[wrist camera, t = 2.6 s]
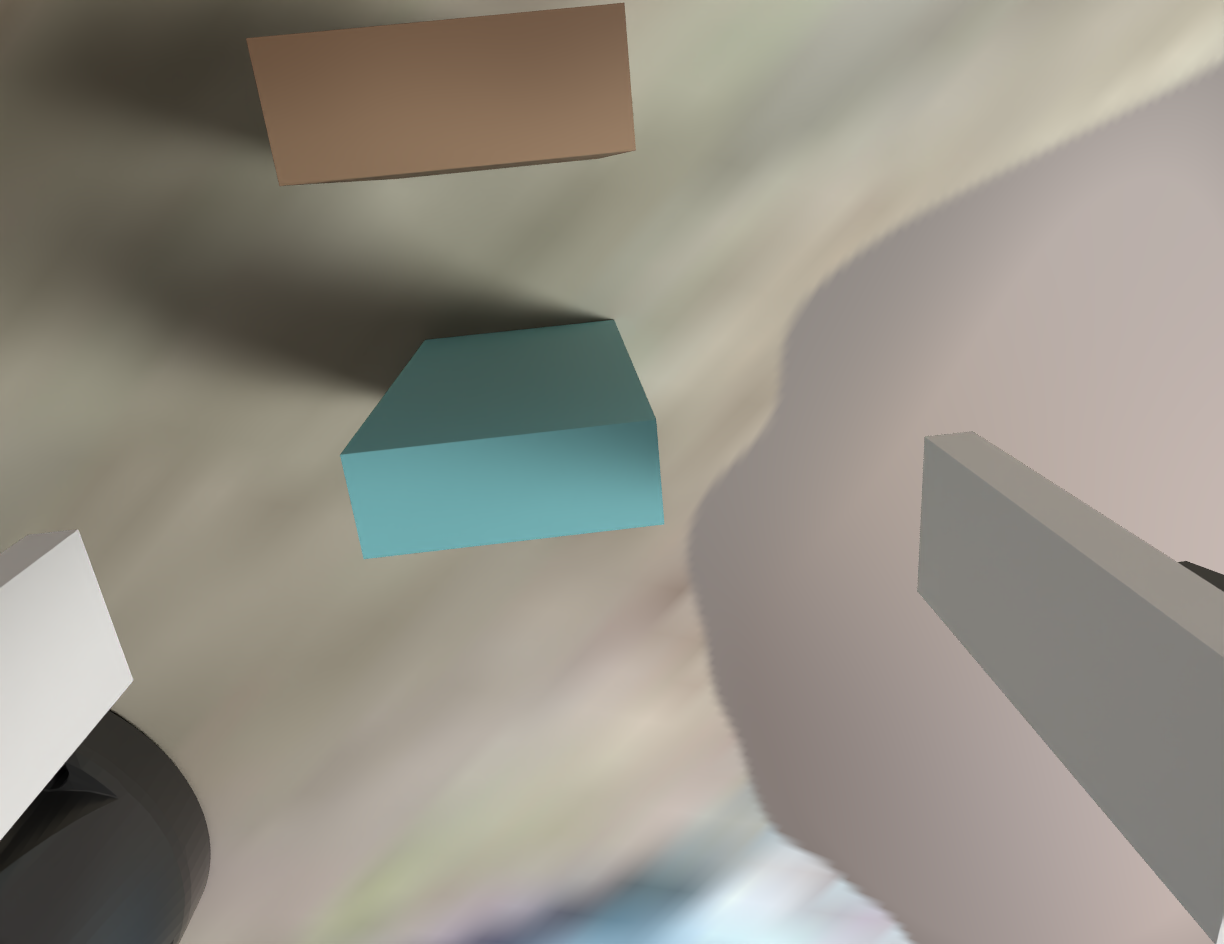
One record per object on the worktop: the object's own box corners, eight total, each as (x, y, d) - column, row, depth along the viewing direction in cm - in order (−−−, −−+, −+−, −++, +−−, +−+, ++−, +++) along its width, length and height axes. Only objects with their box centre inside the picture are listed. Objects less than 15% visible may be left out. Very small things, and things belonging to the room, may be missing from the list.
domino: (598, 158, 24) (635, 149, 14) (396, 178, 24) (279, 186, 13) (591, 76, 23) (624, 2, 13) (381, 96, 23) (246, 38, 13)
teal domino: (620, 386, 26) (663, 524, 16) (437, 406, 26) (363, 558, 16) (613, 319, 26) (656, 419, 15) (424, 339, 25) (340, 454, 15)
